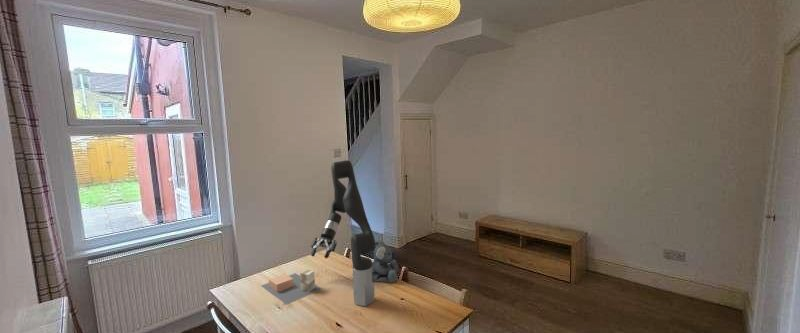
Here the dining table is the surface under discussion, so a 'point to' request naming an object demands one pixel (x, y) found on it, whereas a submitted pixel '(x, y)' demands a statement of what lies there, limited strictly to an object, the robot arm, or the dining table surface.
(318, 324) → the dining table surface
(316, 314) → the dining table surface
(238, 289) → the dining table surface
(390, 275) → the koala plush
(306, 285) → the cream block
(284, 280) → the terracotta brick
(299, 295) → the building mat
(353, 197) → the robot arm
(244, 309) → the dining table surface
